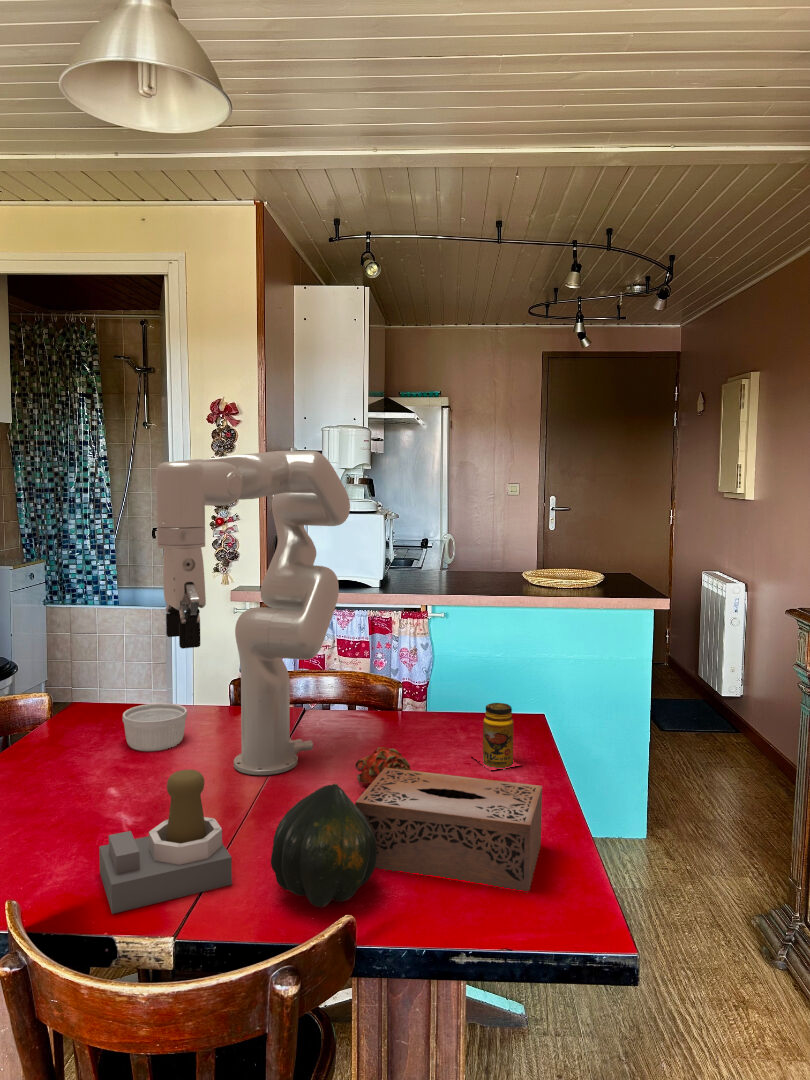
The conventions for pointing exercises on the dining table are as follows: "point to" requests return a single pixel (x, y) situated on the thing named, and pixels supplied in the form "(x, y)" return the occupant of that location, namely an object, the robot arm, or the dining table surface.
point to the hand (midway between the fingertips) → (182, 641)
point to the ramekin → (154, 726)
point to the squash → (324, 848)
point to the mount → (162, 867)
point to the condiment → (498, 736)
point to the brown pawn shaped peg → (185, 807)
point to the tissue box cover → (455, 826)
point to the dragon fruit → (380, 764)
